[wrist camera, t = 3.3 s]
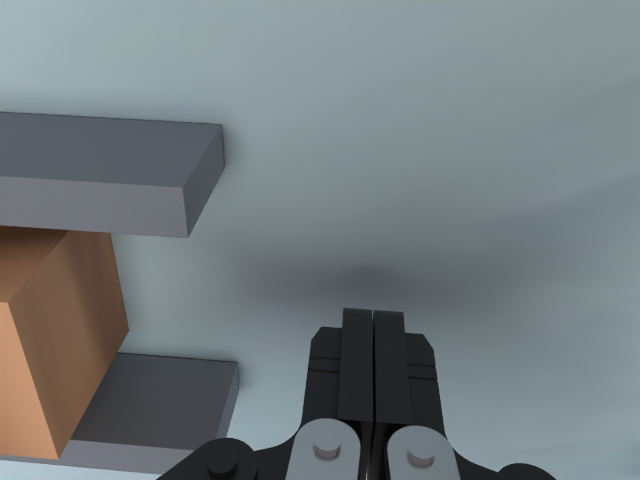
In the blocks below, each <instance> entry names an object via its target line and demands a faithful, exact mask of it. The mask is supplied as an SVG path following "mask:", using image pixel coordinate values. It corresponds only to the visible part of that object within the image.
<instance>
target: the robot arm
mask: <svg viewBox="0 0 640 480" xmlns="http://www.w3.org/2000/svg"><path fill="white" fill-rule="evenodd" d="M435 366H436V365H435V358H434V351H433V348H432V347H431V345H430V344H429V342H428V341H427V339H426V338H425V336H424V335H423V334H414V333H405V329H404V316H403V312H394V311H380V310H374V313H373V320H372V310H365V309H351V308H344V309H343V322H342V328H332V327H321V328H320V329H319V331H318V332H317V333H316V335H315V336H314V337H313V339H312V340H311V348H310V356H309V364H308V372H307V381H306V389H305V397H304V405H303V413H302V420H301V424H300V427H299V429H298V430H297V432H296V433H295V434H294V435H293V436H292V437H291V438H290V439H289V440H288V441H286V442H284V443H282V444H280V445H278V446H275V447H271V448H267V449H262V450H257V451H253V450H252V448H251V447H250V446H249V445H247V444H246V443H245V442H243V441H240V440H238V439H234V438H219V439H214V440H211V441H209V442H207V443H205V444H203V445H202V446H200V447H199V448H198V449H196V450H195V451H194V452H192V453H191V454H190V455H188V456H187V457H186V458H184V459H183V460H182V461H180V462H179V463H178V464H176V465H175V466H174V467H172V468H171V469H170V470H168V471H167V472H166V473H164V474H163V475H162V476H160V477H159V478H158V479H156V480H366V474H367V480H556V479H555V478H554V477H553V476H551V475H550V474H549V473H547V472H546V471H544V470H542V469H540V468H538V467H536V466H533V465H530V464H524V463H515V464H510V465H507V466H505V467H503V468H502V469H501V470H500V471H499V472H495V471H493V470H490V469H487V468H485V467H482V466H479V465H477V464H474V463H472V462H470V461H468V460H467V459H465V458H463V457H462V456H461V455H459V454H458V453H457V452H456V451H455V450H454V449H453V447H452V446H451V445H450V443H449V442H448V440H447V437H446V435H445V431H444V424H443V416H442V409H441V402H440V394H439V387H438V382H437V372H436V369H435Z"/></svg>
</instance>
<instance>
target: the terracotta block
mask: <svg viewBox="0 0 640 480" xmlns="http://www.w3.org/2000/svg"><path fill="white" fill-rule="evenodd" d="M128 331H129V329H128V323H127V318H126V313H125V308H124V303H123V298H122V292H121V287H120V282H119V277H118V272H117V266H116V261H115V256H114V251H113V246H112V240H111V235H110V233H107V232H92V231H78V230H63V229H48V228H33V227H19V226H4V225H0V454H1V455H13V456H24V457H35V458H46V459H57V460H59V458H60V456H61V455H62V453H63V451H64V449H65V447H66V445H67V444H68V442H69V440H70V438H71V436H72V434H73V432H74V431H75V429H76V427H77V425H78V423H79V421H80V420H81V418H82V416H83V414H84V412H85V410H86V409H87V407H88V405H89V403H90V401H91V399H92V397H93V396H94V394H95V392H96V390H97V388H98V386H99V385H100V383H101V381H102V379H103V377H104V375H105V373H106V372H107V370H108V368H109V366H110V364H111V362H112V361H113V359H114V357H115V355H116V353H117V351H118V350H119V348H120V346H121V344H122V342H123V340H124V338H125V337H126V335H127V333H128Z"/></svg>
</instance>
